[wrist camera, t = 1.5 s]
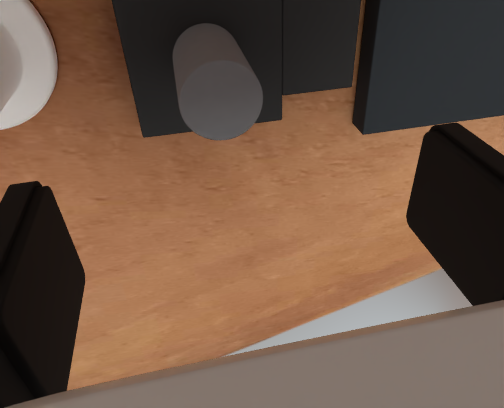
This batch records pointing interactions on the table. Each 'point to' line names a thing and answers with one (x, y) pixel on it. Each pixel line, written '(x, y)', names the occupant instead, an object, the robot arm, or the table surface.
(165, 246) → the table surface
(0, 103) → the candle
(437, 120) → the dock pad
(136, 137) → the table surface
